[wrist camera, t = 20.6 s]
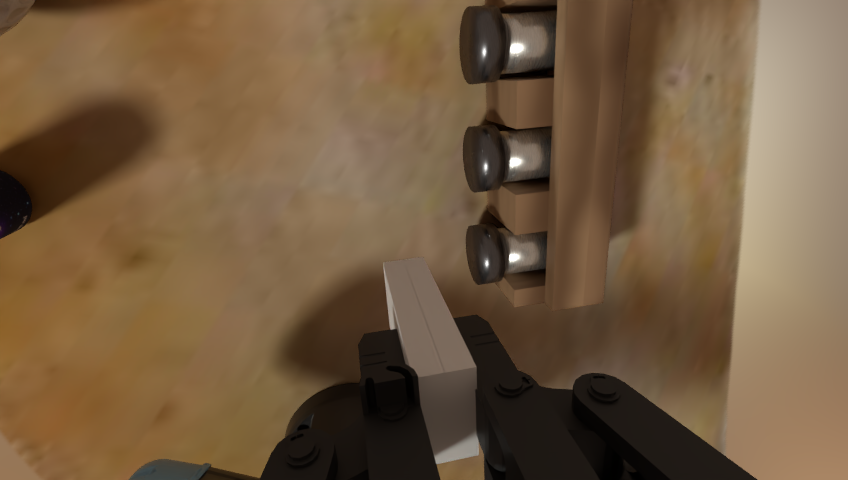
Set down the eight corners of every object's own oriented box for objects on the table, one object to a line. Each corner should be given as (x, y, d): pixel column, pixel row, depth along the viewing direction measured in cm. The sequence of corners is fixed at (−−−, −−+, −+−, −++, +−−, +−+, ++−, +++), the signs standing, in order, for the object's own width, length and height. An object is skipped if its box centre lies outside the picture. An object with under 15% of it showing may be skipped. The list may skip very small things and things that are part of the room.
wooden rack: (488, 273, 47) (521, 316, 39) (485, -10, 37) (528, -34, 29) (557, 263, 49) (603, 302, 40) (572, -14, 39) (636, -38, 30)
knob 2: (463, 184, 41) (482, 199, 36) (462, 123, 39) (481, 131, 34) (550, 174, 43) (580, 188, 38) (553, 115, 41) (585, 121, 36)
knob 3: (466, 269, 45) (483, 295, 40) (465, 218, 43) (483, 238, 37) (547, 258, 46) (574, 281, 41) (549, 207, 44) (577, 225, 39)
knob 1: (460, 83, 38) (480, 85, 33) (458, 11, 36) (479, 1, 31) (555, 76, 39) (588, 76, 34) (558, 6, 37) (593, -5, 32)
